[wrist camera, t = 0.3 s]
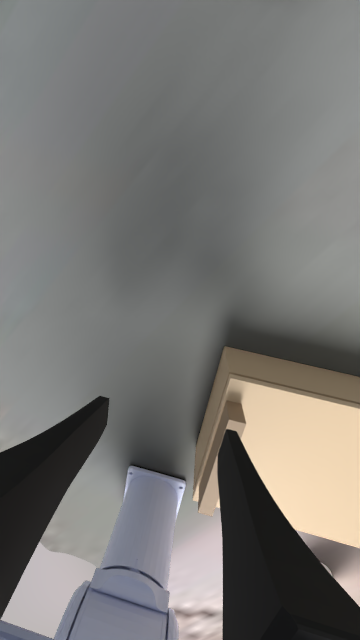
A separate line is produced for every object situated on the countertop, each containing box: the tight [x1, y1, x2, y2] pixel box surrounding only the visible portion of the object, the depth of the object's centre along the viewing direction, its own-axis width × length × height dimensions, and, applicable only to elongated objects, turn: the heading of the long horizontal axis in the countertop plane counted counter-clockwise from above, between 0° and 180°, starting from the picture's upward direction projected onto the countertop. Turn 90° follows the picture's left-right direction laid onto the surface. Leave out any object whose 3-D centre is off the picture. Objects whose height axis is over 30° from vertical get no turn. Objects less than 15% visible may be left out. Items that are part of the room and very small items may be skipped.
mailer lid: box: [193, 374, 360, 548], centre depth 16 cm, size 14×16×3 cm
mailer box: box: [193, 346, 360, 490], centre depth 20 cm, size 14×16×5 cm
